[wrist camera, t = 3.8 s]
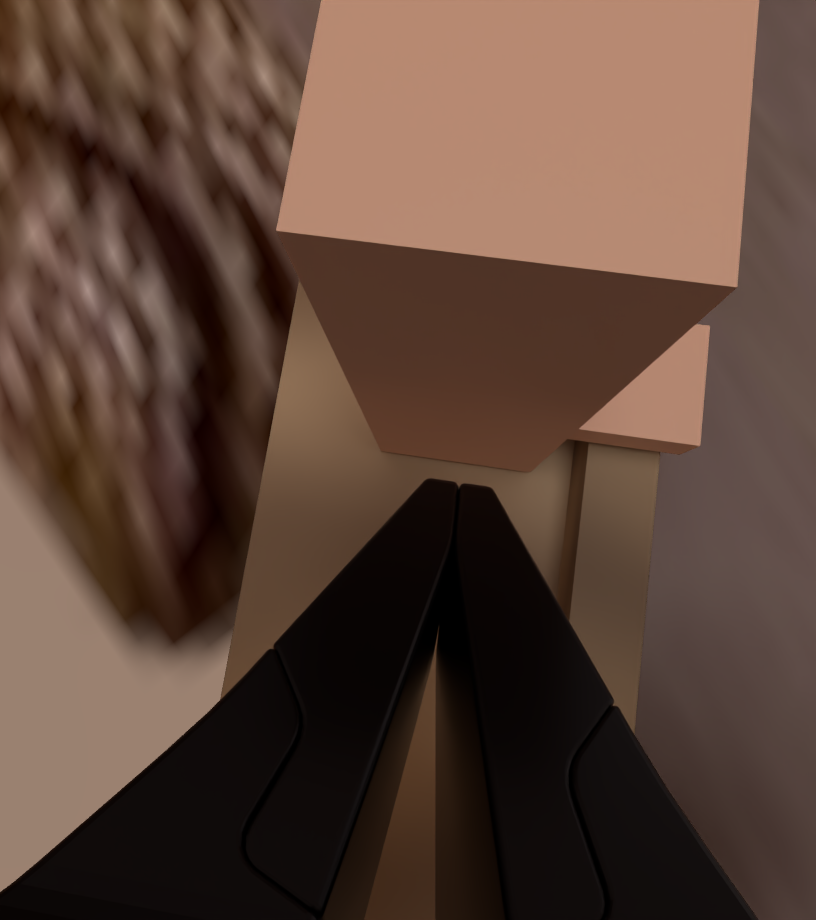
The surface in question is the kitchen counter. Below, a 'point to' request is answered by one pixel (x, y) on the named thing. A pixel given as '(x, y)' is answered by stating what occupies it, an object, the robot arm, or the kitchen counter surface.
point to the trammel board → (369, 507)
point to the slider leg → (522, 215)
